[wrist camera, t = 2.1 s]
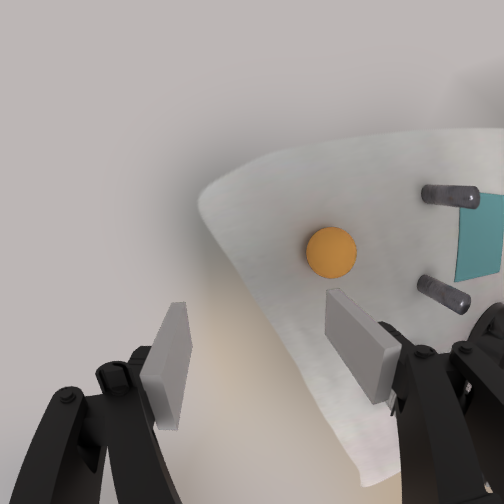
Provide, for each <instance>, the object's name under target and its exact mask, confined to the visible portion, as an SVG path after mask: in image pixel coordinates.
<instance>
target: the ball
mask: <svg viewBox="0 0 504 504" xmlns="http://www.w3.org/2000/svg"><path fill="white" fill-rule="evenodd" d="M306 255H307V260H308V263H309V265H310V267H311V268H312V270H313V271H314V272H315V273H317V274H318V275H320V276H322V277H325V278H338V277H341V276H343V275H345V274H346V273H348V272H349V271H350V270H351V268H352V267H353V265H354V263H355V261H356V256H357V249H356V245H355V242H354V240H353V239H352V237H351V236H350V235H349V234H348V233H347V232H346V231H344V230H342V229H340V228H336V227H327V228H323V229H321V230H319V231H317V232H316V233H315V234H314V235H313V236H312V237H311V239H310V240H309V243H308V245H307V250H306Z"/></svg>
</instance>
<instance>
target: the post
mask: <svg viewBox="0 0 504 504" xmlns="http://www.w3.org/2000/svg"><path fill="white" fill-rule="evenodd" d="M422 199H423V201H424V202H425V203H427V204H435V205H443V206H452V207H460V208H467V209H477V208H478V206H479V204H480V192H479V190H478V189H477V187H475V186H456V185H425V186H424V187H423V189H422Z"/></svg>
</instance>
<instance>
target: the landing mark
mask: <svg viewBox="0 0 504 504" xmlns="http://www.w3.org/2000/svg"><path fill="white" fill-rule="evenodd" d="M503 234H504V195H496V194H486V193H480V204H479V206H478V208H477V209H467V208H460V221H459V241H458V254H457V264H456V273H455V281H454V282H459V281H463V280H468V279H472V278H477V277H481V276H485V275H489V274H493V273H497V272H499V271H500V264H501V256H502V246H503Z"/></svg>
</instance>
